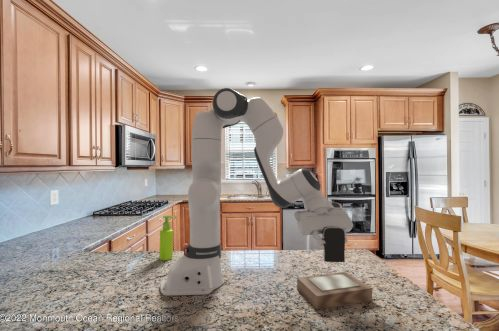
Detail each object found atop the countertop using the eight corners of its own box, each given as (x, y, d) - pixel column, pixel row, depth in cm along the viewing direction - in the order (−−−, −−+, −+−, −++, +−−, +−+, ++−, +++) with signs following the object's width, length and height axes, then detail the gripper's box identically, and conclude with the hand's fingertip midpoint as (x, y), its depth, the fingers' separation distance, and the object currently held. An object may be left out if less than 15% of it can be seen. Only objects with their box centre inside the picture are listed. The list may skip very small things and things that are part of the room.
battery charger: (341, 258, 83) (341, 225, 83) (345, 263, 79) (345, 228, 79) (321, 258, 83) (321, 225, 84) (324, 262, 79) (324, 227, 80)
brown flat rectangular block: (317, 309, 72) (317, 295, 72) (297, 289, 84) (297, 276, 84) (372, 300, 77) (372, 287, 77) (345, 282, 90) (345, 271, 90)
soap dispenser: (170, 261, 110) (171, 217, 111) (156, 259, 112) (157, 216, 112) (176, 256, 116) (177, 215, 117) (163, 255, 117) (164, 214, 118)
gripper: (295, 205, 86) (309, 241, 76) (344, 203, 91) (363, 236, 81) (290, 216, 90) (303, 250, 80) (337, 213, 95) (354, 245, 85)
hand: (334, 243), depth 81 cm, fingers closed on battery charger, 7 cm apart
